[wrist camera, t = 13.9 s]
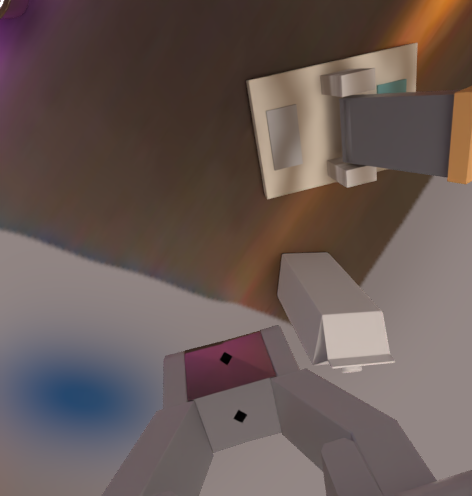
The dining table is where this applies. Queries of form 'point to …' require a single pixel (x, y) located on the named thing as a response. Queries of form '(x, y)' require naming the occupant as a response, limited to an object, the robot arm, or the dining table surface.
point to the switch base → (319, 117)
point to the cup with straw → (12, 8)
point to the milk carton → (331, 313)
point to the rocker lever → (410, 132)
